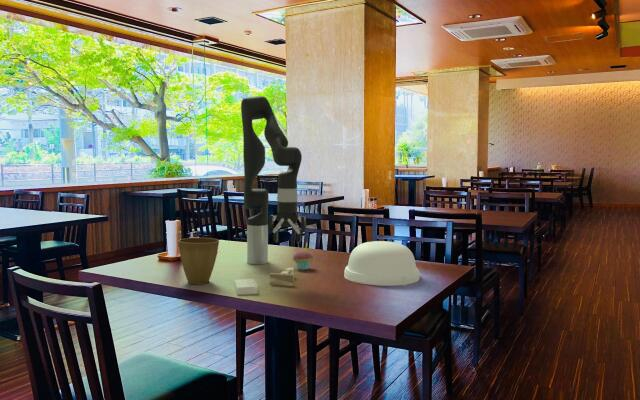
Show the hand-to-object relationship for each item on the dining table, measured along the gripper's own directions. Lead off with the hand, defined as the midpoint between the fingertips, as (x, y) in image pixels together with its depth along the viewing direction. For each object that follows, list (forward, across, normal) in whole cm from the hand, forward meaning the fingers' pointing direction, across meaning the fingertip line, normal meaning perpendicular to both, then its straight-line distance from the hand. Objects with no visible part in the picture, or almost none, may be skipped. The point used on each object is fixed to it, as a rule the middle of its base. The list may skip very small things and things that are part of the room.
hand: (287, 242), depth 197 cm
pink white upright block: (+13, +13, +12) cm, 22 cm away
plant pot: (+15, +31, +10) cm, 36 cm away
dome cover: (+15, -34, -17) cm, 41 cm away
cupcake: (+15, 0, -24) cm, 29 cm away
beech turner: (+15, 0, 0) cm, 15 cm away
